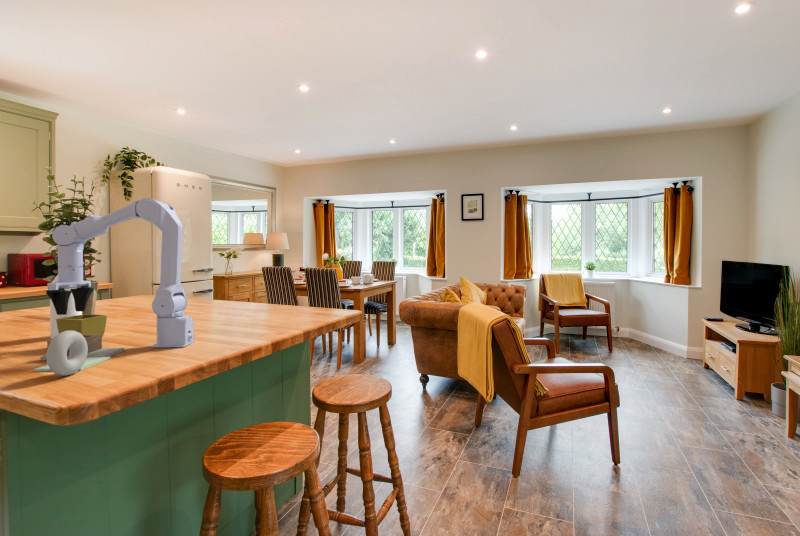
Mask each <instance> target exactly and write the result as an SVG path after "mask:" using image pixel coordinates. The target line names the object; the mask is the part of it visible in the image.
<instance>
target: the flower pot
mask: <svg viewBox="0 0 800 536" xmlns="http://www.w3.org/2000/svg"><path fill="white" fill-rule="evenodd" d="M107 319H108V315H107V314H91V313H90V314H85V313H84V314H82V315H77V316H71V317H63V318H57V319H56V322H57V327H58V332H59V334H60V333H62V332H64V331H76V332H79V333H81V334H82V335H102V338H103V336H104V335H105V332H106V326H107Z"/></svg>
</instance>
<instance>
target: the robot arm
mask: <svg viewBox="0 0 800 536" xmlns="http://www.w3.org/2000/svg"><path fill="white" fill-rule="evenodd" d="M134 219H143V220H145V221H147V222H150V223H151V224H153V225H155V227H156V228H158V229H159V230H160V231H161V251H160V278H159V279H160V282H159V283H160V284H159V286H158V287H157V288H156V291H155V297H154V299H153V300H152V302H151V308H152V312H154V314H155V315H156V343H155V344H152V345H150V348H151V349H152V348H153V349H154V348H157V349H160V348H184V347H187V346H189V345H191V344H193V343H195V339H194V334H195V333H194V331H195V330H194V319H193V317H192V316H191V315H190V316H189V315H185V312H184V310H185V309H186V308H187V306H188V299H187V296H186V294H185V288H184V287H183V285H182V284H181V283H182V282H181V281H182V259H183V258H182V256H183V232H184V231H183V229H184V227H183V225H182V222H181V220H180V219H179V217H178V215H177V213H176V209H175V208H174V207H173V206H172V205H170V203H167V202H165V201H160V200H156V199H154V198H152V197H151V198H150V197H145V198H144V197H143V198H141V199H140V200H139V199H138V200H134V201H132V202H131V203H129V204H127V205H126V206H122V207H121V208H119V209H117V210H114V211H112V212H110V213H107V214H105V215H104V216H101V215H96V214H88V215H87V216H86V218H85V219H82V220H80V221H78V222H77V221H73V222H71V224H70V225H67V224H60V225H59V226H56V228H54V229H53V231H52V234H51V235H52V240H53V242H54V243H55V244H57V275H58V282H55V283H52V282H49V283H47V287H48V288H47V289H48V290H47V289H46V290H45V294H46V295H47V296H48V298H49V300H50V299H51V300H52V302H53V305H54V307H55V310H56V313H57V315H66V314H67V308H68V300H69V297H70V294H71V292H72V294H73V297H74V302H75V309H76V311H82V312H85V311H86V307H87V304H88V302H89V299H90V296H91V295H92V293H93V292H94V287H92V281H91V280H84V258H83V257H84V253H83V251H84V246H85V244H86V243H87V242H88V241H90V240H92V239H94V238H97V237H98V236H102V235H105V234H107V233H108V232H109V230H110V227H113V226H116V225H119V224H121V223H125V222H128V221H130V220H134ZM70 285H73V286H71V287H69V286H70ZM70 288H75V289H70ZM64 289H70V290H71V291H66V290H64Z"/></svg>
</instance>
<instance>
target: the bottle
mask: <svg viewBox="0 0 800 536" xmlns="http://www.w3.org/2000/svg"><path fill="white" fill-rule="evenodd" d="M55 282H58V274H57V275H56V276H55V278H54V279H53V280H52V281H51V283H55ZM71 286H73V285H70V286H69V287H71ZM70 289H75V288H70ZM70 289H64V290H66V291H71V290H70ZM49 315H50V316H49V318H50V321H49V322H50V323H49V324H50V339H51V340H53V338H55V337H56V336H57V335H58V334H59V332H58V327H57V322H56V319H57V318H63V317H71V316H77V315H83V311H76V309H75V302H74V297H73V294H72V292H71V294H70V297H69V300H68V308H67V314H66V315H57V313H56V310H55V307H54V305H53V302H52V300H51V299H50V298H49Z"/></svg>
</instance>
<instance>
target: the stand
mask: <svg viewBox="0 0 800 536" xmlns="http://www.w3.org/2000/svg"><path fill="white" fill-rule="evenodd" d="M123 352H125V347H105V348H104V347H102V349H99V350H96V351H94V352H91V353H88V354H87V357H112V356H114V355H117V354H120V353H123ZM46 357H47V354H46V355H43V356H40V358H39V359H40V361H47V358H46ZM67 358H68V356H67Z"/></svg>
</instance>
